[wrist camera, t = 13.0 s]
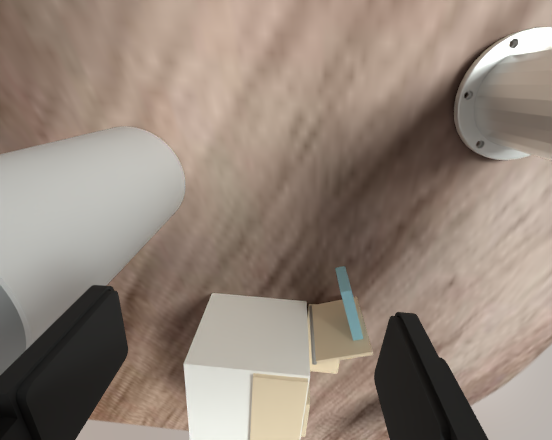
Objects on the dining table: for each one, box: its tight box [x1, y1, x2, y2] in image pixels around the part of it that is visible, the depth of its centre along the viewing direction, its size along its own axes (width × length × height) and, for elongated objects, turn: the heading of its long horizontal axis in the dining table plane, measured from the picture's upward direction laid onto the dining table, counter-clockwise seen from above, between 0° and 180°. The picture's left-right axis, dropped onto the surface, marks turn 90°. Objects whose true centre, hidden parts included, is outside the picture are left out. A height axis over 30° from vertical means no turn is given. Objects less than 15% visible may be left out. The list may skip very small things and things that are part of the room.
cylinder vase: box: [0, 126, 185, 375], centre depth 27 cm, size 12×12×25 cm
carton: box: [184, 293, 340, 440], centre depth 42 cm, size 20×14×13 cm
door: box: [309, 266, 373, 365], centre depth 37 cm, size 8×7×10 cm
